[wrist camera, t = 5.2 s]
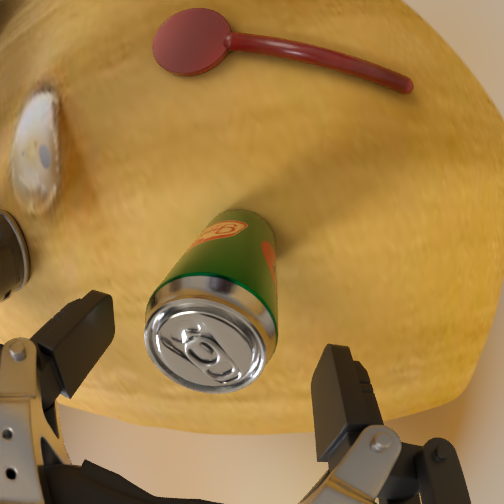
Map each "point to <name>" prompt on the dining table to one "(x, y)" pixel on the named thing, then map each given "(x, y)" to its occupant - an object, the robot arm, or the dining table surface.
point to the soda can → (217, 307)
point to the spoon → (250, 49)
